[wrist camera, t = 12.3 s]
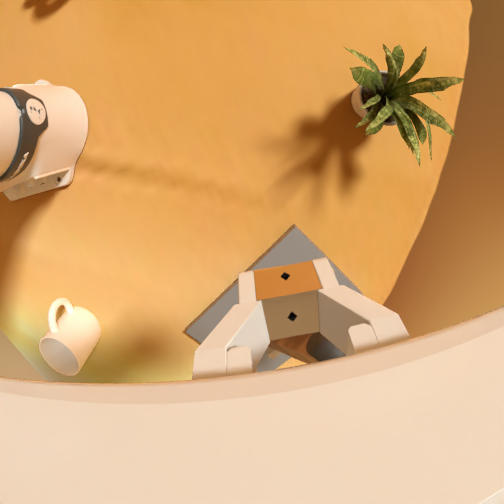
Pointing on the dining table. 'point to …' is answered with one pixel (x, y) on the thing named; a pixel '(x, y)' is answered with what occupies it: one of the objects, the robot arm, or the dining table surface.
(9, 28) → the dining table surface
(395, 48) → the house plant
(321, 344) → the lever
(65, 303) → the mug
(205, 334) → the press base
